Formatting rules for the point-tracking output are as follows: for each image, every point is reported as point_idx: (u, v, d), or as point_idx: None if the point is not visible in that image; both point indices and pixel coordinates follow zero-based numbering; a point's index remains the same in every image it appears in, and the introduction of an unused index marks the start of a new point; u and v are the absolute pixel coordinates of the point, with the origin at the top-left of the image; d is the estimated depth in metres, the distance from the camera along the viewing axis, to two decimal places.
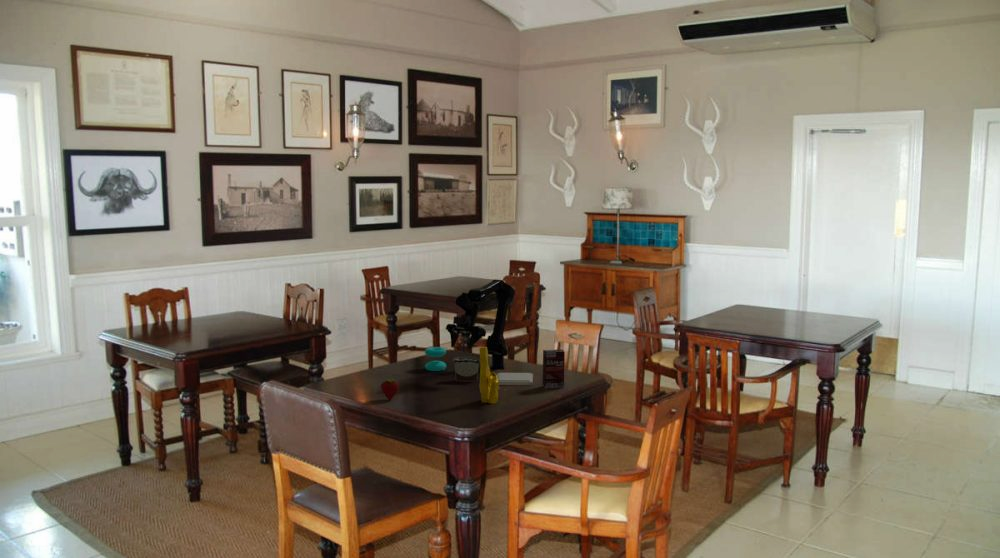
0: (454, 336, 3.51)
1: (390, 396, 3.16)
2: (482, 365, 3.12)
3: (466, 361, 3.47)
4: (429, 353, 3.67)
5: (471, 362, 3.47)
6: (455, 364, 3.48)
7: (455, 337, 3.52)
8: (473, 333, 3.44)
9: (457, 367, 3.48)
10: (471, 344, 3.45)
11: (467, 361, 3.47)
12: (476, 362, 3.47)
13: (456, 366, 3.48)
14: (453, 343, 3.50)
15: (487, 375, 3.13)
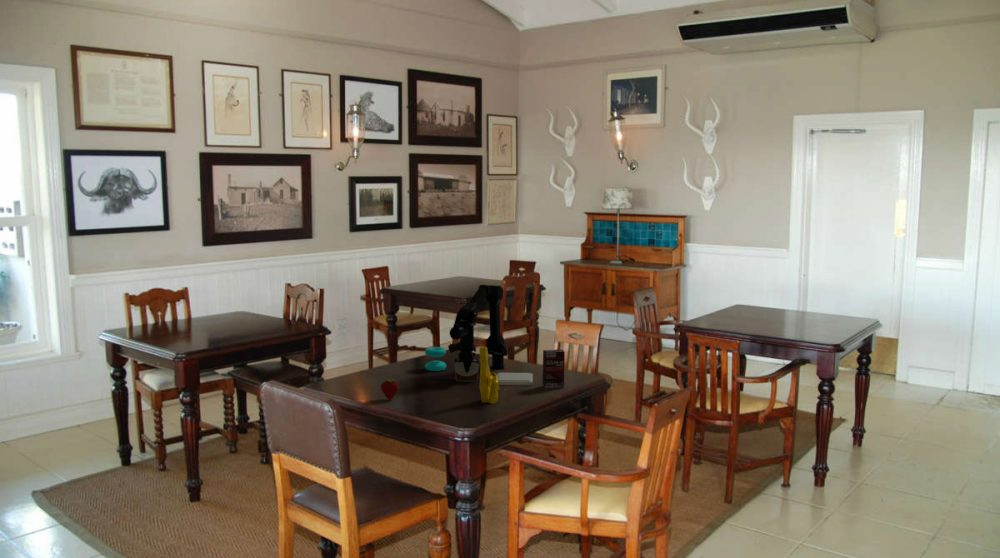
0: None
1: (390, 396, 3.16)
2: (482, 365, 3.12)
3: None
4: (429, 353, 3.67)
5: None
6: (455, 364, 3.48)
7: None
8: (460, 359, 3.45)
9: (457, 367, 3.48)
10: (466, 368, 3.46)
11: None
12: (476, 362, 3.47)
13: (456, 366, 3.48)
14: None
15: (487, 375, 3.13)
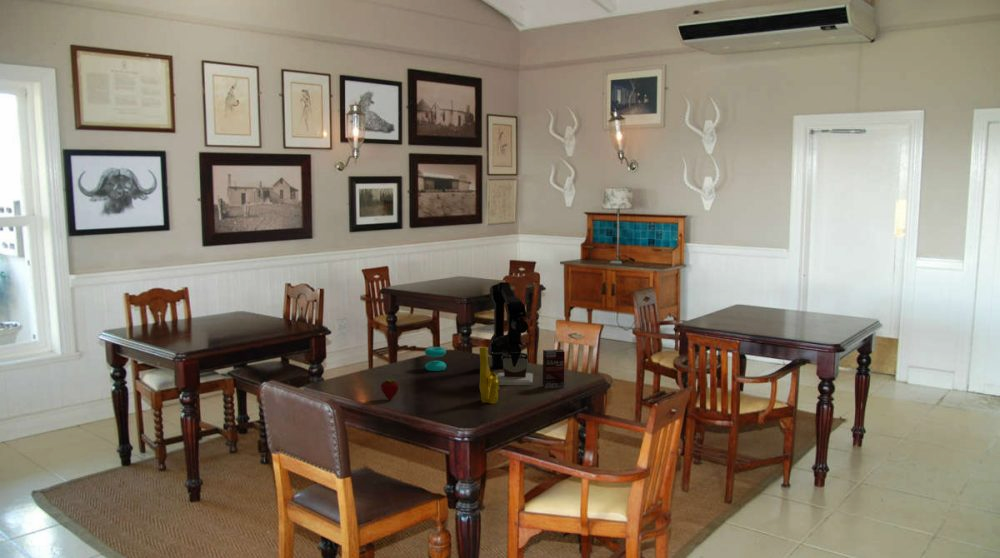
0: None
1: (390, 396, 3.16)
2: (482, 365, 3.12)
3: None
4: (429, 353, 3.67)
5: (520, 358, 3.46)
6: (503, 360, 3.47)
7: None
8: (508, 353, 3.41)
9: (505, 363, 3.47)
10: (514, 362, 3.43)
11: None
12: (525, 358, 3.46)
13: (504, 362, 3.47)
14: None
15: (487, 375, 3.13)
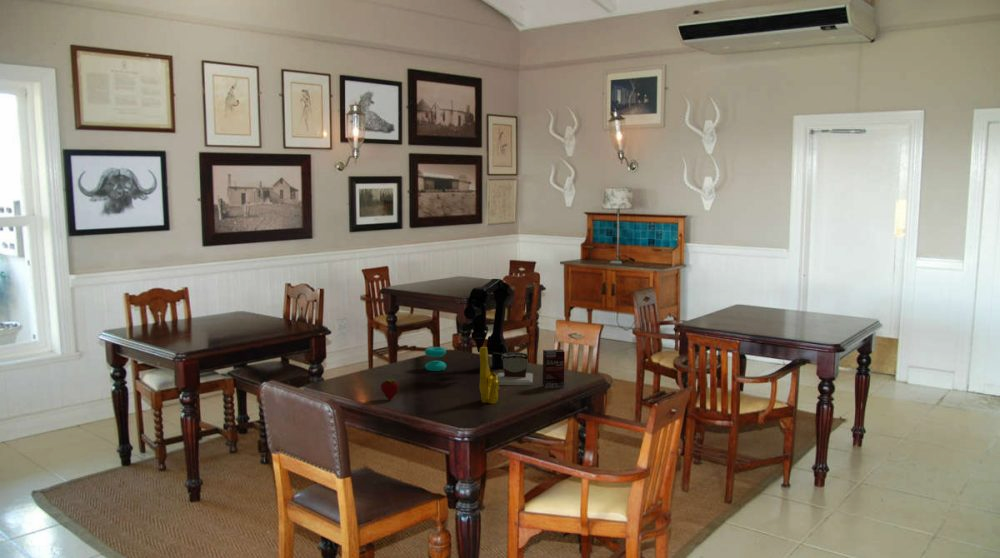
0: None
1: (390, 396, 3.16)
2: (482, 365, 3.12)
3: (514, 357, 3.46)
4: (429, 353, 3.67)
5: (520, 358, 3.46)
6: (503, 360, 3.47)
7: None
8: (473, 338, 3.49)
9: (505, 363, 3.47)
10: (478, 347, 3.51)
11: (516, 357, 3.46)
12: (525, 358, 3.46)
13: (504, 362, 3.47)
14: None
15: (487, 375, 3.13)
